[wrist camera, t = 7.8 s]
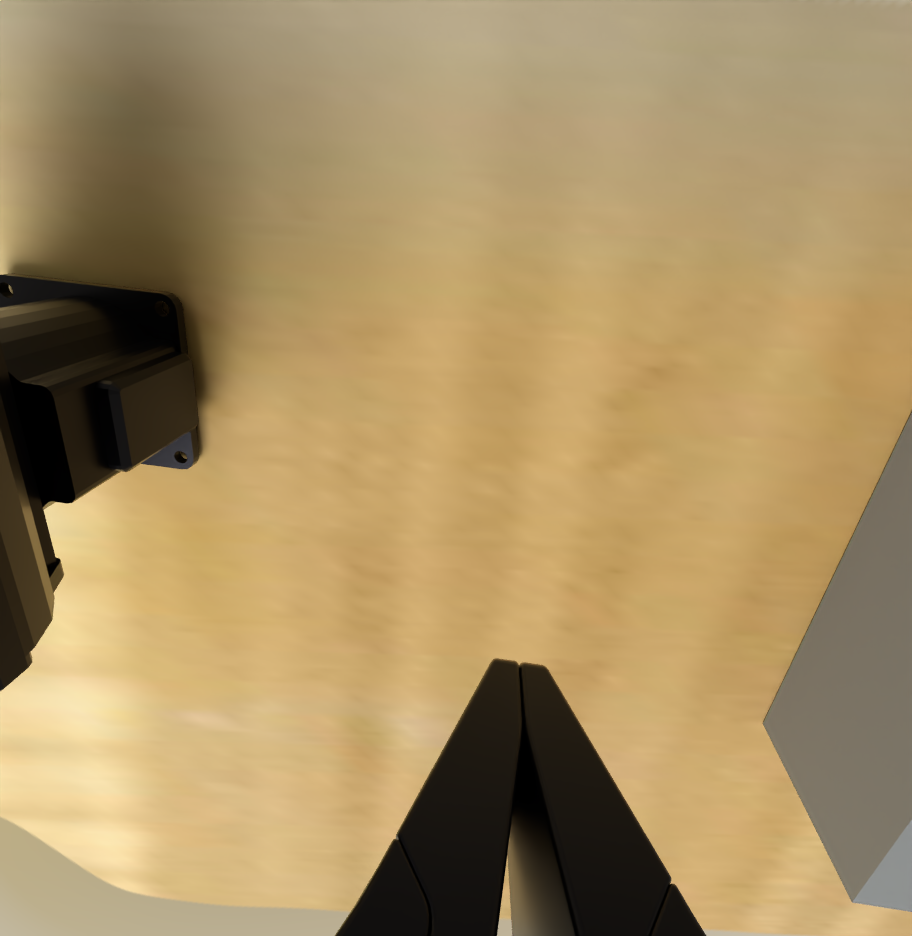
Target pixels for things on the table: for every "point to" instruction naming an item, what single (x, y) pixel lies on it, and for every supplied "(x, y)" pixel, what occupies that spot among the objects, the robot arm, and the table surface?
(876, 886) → the console
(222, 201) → the table surface
